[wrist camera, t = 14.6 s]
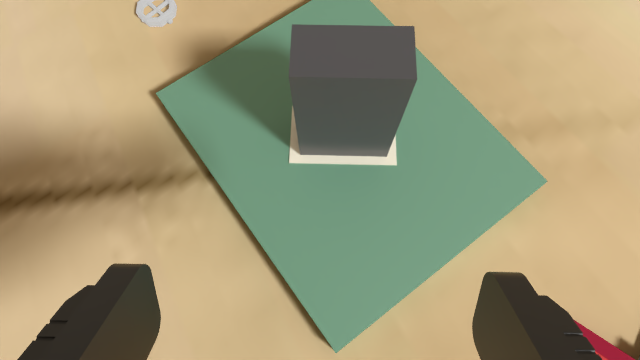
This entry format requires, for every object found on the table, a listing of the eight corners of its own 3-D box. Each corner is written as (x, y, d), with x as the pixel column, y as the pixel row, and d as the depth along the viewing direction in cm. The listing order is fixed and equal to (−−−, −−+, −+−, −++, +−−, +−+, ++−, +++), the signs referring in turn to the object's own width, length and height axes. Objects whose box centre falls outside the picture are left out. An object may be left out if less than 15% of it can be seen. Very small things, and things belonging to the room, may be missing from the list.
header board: (163, 103, 31) (137, 69, 27) (346, -8, 34) (350, -54, 30) (335, 351, 25) (337, 358, 21) (536, 187, 28) (574, 165, 24)
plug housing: (386, 156, 27) (417, 79, 18) (300, 154, 28) (288, 76, 19) (385, 117, 28) (414, 26, 19) (301, 116, 29) (291, 24, 20)
